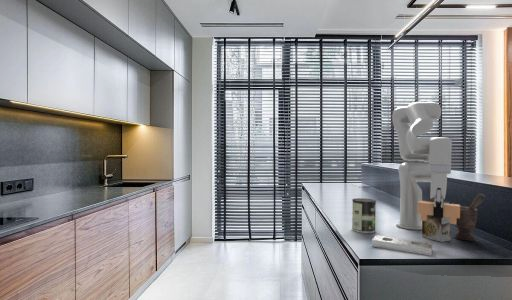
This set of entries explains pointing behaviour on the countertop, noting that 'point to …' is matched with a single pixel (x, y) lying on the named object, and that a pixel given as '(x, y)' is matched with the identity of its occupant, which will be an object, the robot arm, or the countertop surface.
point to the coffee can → (363, 215)
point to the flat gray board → (402, 245)
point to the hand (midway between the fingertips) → (438, 215)
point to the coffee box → (436, 226)
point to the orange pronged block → (448, 210)
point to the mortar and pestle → (468, 219)
